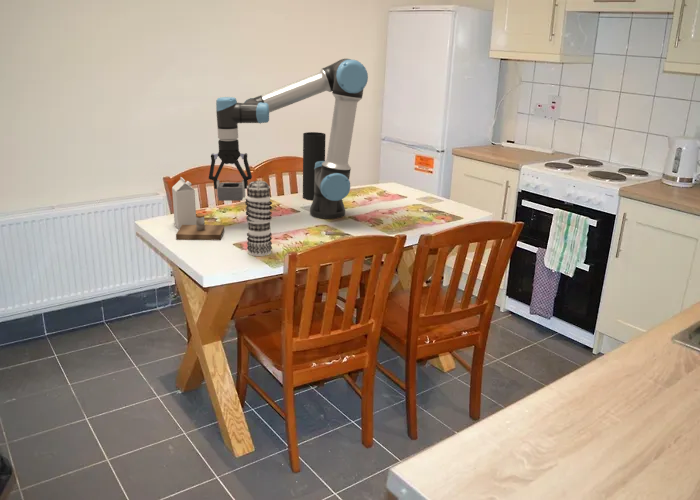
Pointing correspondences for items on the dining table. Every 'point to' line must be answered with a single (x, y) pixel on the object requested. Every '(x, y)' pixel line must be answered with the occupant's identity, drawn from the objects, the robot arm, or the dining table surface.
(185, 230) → the stand
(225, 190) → the dark grey hollow block
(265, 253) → the decorative candle
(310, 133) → the vase
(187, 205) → the milk carton
